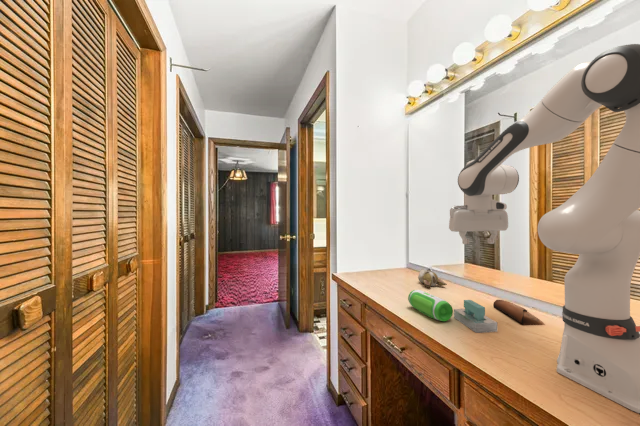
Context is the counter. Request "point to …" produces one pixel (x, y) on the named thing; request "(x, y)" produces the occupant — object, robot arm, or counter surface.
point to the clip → (474, 309)
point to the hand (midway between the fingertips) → (478, 243)
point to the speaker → (430, 305)
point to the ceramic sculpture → (429, 278)
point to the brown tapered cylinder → (517, 313)
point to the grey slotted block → (475, 322)
